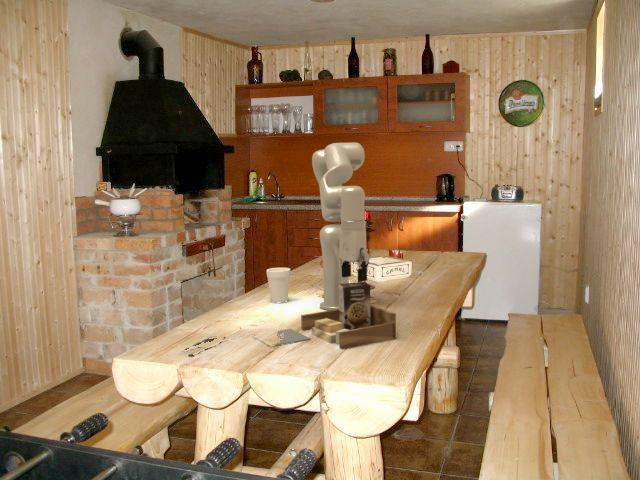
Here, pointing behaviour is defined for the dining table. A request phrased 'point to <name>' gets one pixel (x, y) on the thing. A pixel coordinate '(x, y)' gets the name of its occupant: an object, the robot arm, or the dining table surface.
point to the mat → (291, 336)
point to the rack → (378, 331)
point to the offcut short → (328, 325)
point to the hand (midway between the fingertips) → (354, 278)
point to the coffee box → (354, 305)
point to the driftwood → (202, 341)
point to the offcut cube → (338, 335)
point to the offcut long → (324, 335)
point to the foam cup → (278, 283)
